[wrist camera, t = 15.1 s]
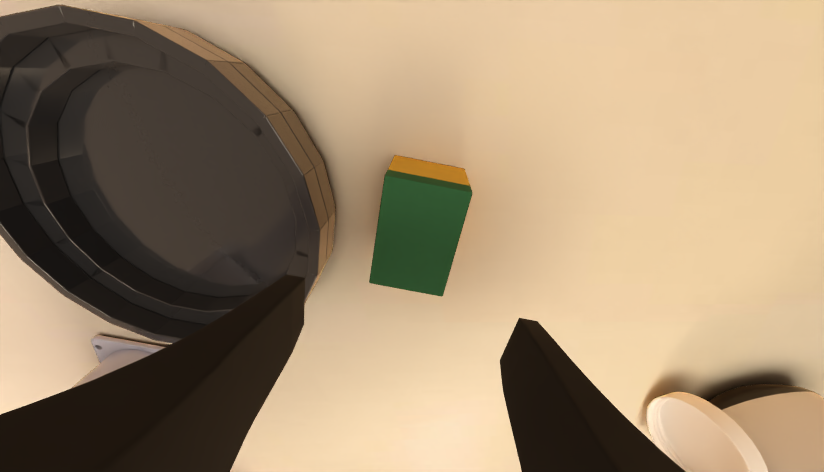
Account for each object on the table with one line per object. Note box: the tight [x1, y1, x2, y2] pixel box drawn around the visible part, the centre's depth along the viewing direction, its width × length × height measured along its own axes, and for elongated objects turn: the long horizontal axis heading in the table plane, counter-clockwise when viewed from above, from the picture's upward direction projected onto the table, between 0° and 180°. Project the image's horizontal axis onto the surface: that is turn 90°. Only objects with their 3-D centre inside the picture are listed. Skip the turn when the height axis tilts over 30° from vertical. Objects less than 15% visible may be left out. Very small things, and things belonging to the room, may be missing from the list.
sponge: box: [369, 155, 472, 296], centre depth 17 cm, size 6×4×4 cm, turn 170°
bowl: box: [0, 5, 336, 343], centre depth 18 cm, size 18×18×4 cm
